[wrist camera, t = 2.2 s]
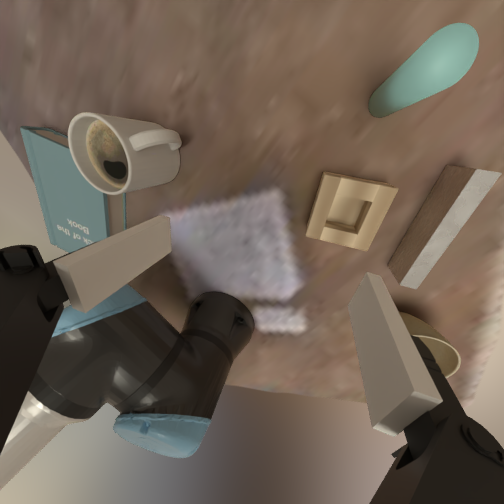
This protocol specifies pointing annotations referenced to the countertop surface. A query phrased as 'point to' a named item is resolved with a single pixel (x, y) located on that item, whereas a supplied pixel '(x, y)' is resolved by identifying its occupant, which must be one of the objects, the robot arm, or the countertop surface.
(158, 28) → the countertop surface
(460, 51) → the dowel
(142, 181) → the mug
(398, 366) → the robot arm
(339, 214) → the block
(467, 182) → the backstop rail
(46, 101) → the countertop surface
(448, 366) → the flower pot
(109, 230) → the book
